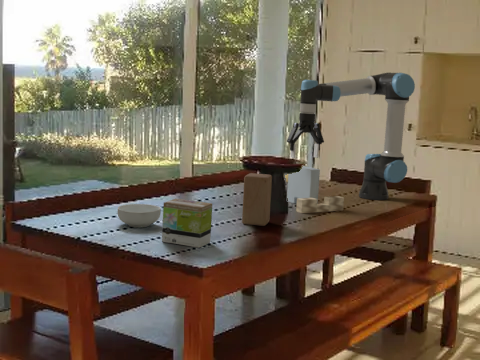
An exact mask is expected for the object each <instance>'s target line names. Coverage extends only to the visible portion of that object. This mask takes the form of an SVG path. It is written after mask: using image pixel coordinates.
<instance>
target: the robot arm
mask: <svg viewBox="0 0 480 360" xmlns="http://www.w3.org/2000/svg"><path fill="white" fill-rule="evenodd" d="M415 88H416V84H415V80H414V79H413V77H412V76H411V75H410V74H408V73H404V72H382V73H380V74H373V75H368V76H367V77H366V78H358V79H348V80H341V81H331V82H324V83H319V82H318V80H315V79H314V80H313V79H304V80H302V81H301V86H300V104H299V112H300V113H299V116H298V117H299V118H298V120H299V121H298V122H299V123H298V122H293V125H292V128H291V131H290V132H289V134H288V137H287V139H286V143H289V151H290V158H291V159H296V151H297V149H296V148H297V144H296V142H297V141H298V140H299V138H300V137H301V135H302V134H304V133H306V134H307V133H308V134H310V136H311V137H312V139H313V140H314V142H315V143H314V145H313V146H314V147H313V158H316V159H319V153H320V150H321V145H322V143H323V144H324V142H325V141H324V138H323V134H322V131H321V124H320V123H317V122H316V114H315V113H316V111H317V101H319V102H338V101H339V100H340V98H341V97H348V96H355V95H358V96H359V95H364V94H365V95H366V94H368V95H369V96H374V95H379V96H385V97H384V100H385V102H386V103H387V109H386V110H387V111H386V122H385V133H384V144H383V152H381V153H367V154H366V155H365V157H364V168H363V180H362V181H363V182H362V185H361V186H360V189H359V191H358V197H360V198H362V199H365V200H373V201H387V200H388V199H389V191H388V187H387V183H392V184H393V183H394V184H396V183H400V182H401V181H403V180H404V179H405V177H406V176H407V173H408V166H407V164H406V162H405V160H404V159H405V155H404V154H403V153H402V150H403V149H402V148H403V136H404V125H405V114H406V104H407V103H409V101H410V96H412V94H413V93H414V92H415Z"/></svg>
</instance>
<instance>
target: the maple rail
mask: <svg viewBox="0 0 480 360" xmlns="http://www.w3.org/2000/svg"><path fill="white" fill-rule="evenodd" d="M344 205H345V197H343V196H339V195H337V196H336V195H334V196H324V197H323V202H322V203H318V204H317V199H315V198H297V203H296V208H295V209H296V210H295V212H297V213H300V214H311V213H326V212H339V211H341V212H342V211H344Z"/></svg>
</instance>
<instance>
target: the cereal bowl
mask: <svg viewBox="0 0 480 360" xmlns="http://www.w3.org/2000/svg"><path fill="white" fill-rule="evenodd" d="M161 210H162V209H161V207H160V206H159V205H154V204H147V203H146V204H145V203H142V204H141V203H133V204H131V203H130V204H129V203H128V204H123V205H119V206H118V207H117V217H118V219H119V220H120V222H122V223H124V224H127V225H128V226H129V227H132V228H146V227H149V226H150V225H151V224H154V223H156V222H158V220H159V219H160V217H161Z"/></svg>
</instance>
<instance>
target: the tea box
mask: <svg viewBox="0 0 480 360" xmlns="http://www.w3.org/2000/svg"><path fill="white" fill-rule="evenodd" d="M212 216H213V203H212V202H203V201H197V200H189V199H183V198H174V199H171V200H168V201H164V202H163V209H162V226H161V227H162V229H161V230H162V232H161V242H162V243H167V244H168V243H169V244H175V245H176V244H177V245H182V246H186V247H193V248H198V249H199V248H202V247H204V246H206V245H207V244H210V242H211V239H212V238H211V235H212V221H213V220H212V219H213V217H212Z"/></svg>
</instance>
